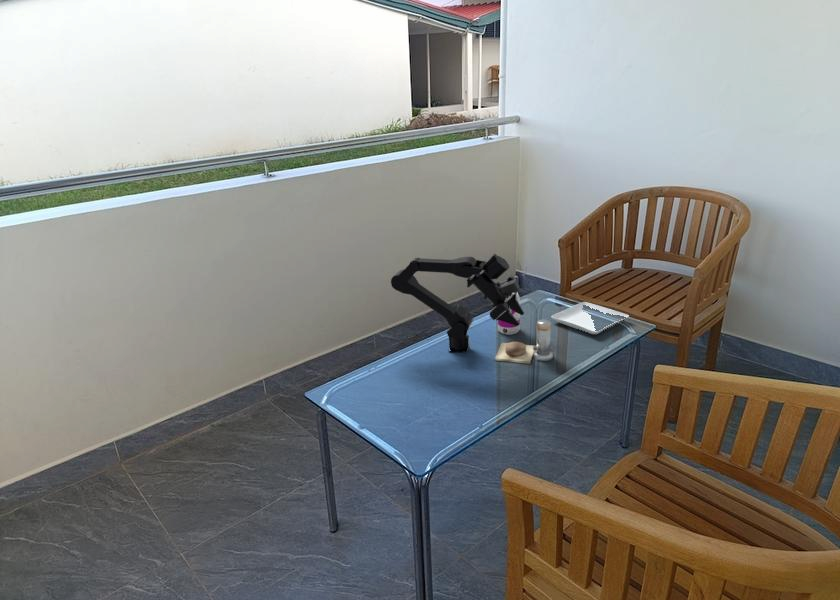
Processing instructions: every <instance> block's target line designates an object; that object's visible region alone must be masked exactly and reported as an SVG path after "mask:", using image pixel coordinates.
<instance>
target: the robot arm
mask: <svg viewBox="0 0 840 600" xmlns="http://www.w3.org/2000/svg"><path fill="white" fill-rule="evenodd" d="M509 269H510V265H509V263H508V262H507V260H506V259H505V258H503V257H502V256H500V255H497V254H496V253H493V254H492V256H491V257H490V258H489V259H488V260H487V261H484V260H480V259H476V258H475V257H473V256H463V257H458V258H454V259H453V258H452V259H441V258H420V257H414V258H413V259H411V261H410V262H409V264H408V265H407V266H406V267H405V268H403V269H400V270H399V271H398V272H397V273H395V274H394V275H393V276H392V277H391V280H390V285H391V287H392V288H393V289H394V290H395V291H397V292H399V293H401V294H404V295H410V296H412V297H413V298H415V299H416V300H418V301H419V302H421V303H422V304H424V305H425V306H427V307H429V309H431V310H432V311H434V312H435V313H437V314H439V315H440V316H441V317H443V318H444V319H445V320H446V323H448V325H449V328H448V329H447V330H446V335H447V337H448V342H449V343H448V346H449V347H448V349H449V348H450V350H451V351H453V352H452V353H468V350H469V348H470V335H468V330H469V329H470V327H471V325H472V324H473V322H474V318H473V315H472V313H471V312H470V310H469V309H466V308H465V307H464V306H463V305H459V306H458V307H455V306H452V305H451V304H449V303H447V302H446V301H445V300H443V299H441V298H440V297H439V296H437V295H436V294H434V293H433V292H432V291H430V290H429V289H427V288H426V287H424V286H423V285H421V284H420V283H419V281H418V280H417V278H416V277H415V274H416V273H417V272H426V273H443V274H444V273H446V274H452V275H454V276H455V277H459V278H464V279H466V282H467V283H466V287H467V288H470V287H471V286H472V285H473V286H474V287H475V288H476V289H477V290H478V291H479V292H480V293H482V295H483V297H482V298H483V299H485V300H486V299H487V300H488V301H489V302H491V307H492V308H491V310H490V311H489V317H490V318H491V319H492V320H493V321H495V320H496V321H498V320H500V321H503V322H507V323H509V324H512V325H515V326H518V325H519V322H518V321H517V320H516V319H515V317H514V316H513V315H512V313H511V312H510V309H511V310H513V311H515V312H517V313H518V314H520V316H523V315H524V314H525V312H524V310H523V309H522V306H521V304H520V305H519V303H518V301H517V293H518V291H519V289H520V288H521V286H520V284H519V280H518V279H517V278H515V277H514V276H513V275H509V276H508V277H507V279H506V281H505V282H504V283H502V284H501V282H500V281H499V282H498V281H494V280H498V279H500V277H501V276H502V275H504V274H505V273H506V272H507V271H508V270H509ZM515 292H516V293H515ZM513 293H514V294H513Z"/></svg>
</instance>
